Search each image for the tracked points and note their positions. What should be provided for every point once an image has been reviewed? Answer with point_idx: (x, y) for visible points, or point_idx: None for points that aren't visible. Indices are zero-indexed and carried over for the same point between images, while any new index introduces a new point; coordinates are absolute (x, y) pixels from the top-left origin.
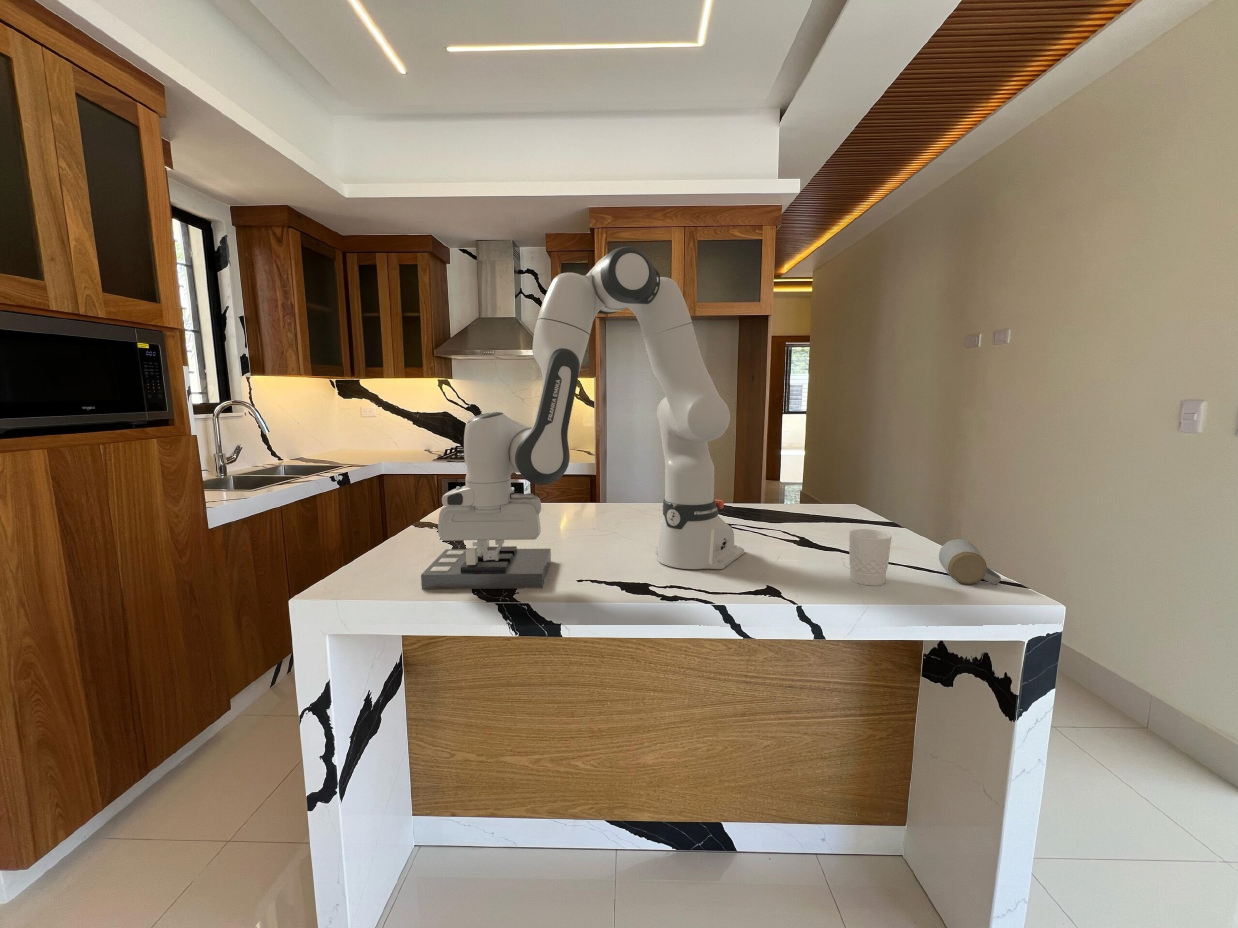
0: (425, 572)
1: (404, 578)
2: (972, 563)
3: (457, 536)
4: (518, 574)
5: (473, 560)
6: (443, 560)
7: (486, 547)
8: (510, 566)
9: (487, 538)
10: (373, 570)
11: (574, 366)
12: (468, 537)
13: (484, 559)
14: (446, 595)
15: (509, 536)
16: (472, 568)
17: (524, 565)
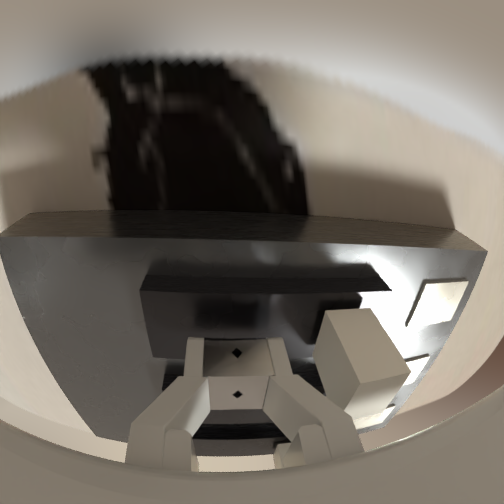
0: (475, 272)
1: (467, 306)
2: None
3: (496, 417)
4: (72, 234)
5: (343, 327)
6: (413, 370)
7: (280, 447)
8: (146, 338)
9: (269, 484)
10: (487, 337)
11: None
12: (442, 443)
13: (276, 340)
14: (397, 155)
15: (33, 463)
16: (335, 288)
17: (92, 341)
